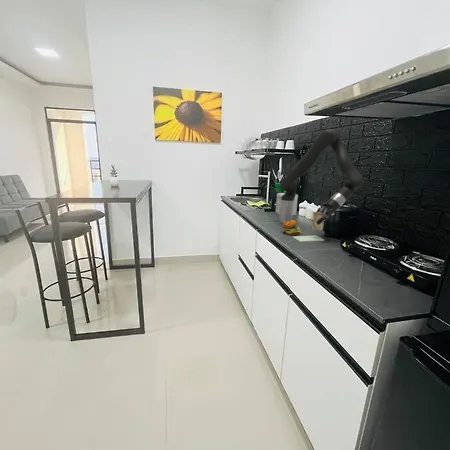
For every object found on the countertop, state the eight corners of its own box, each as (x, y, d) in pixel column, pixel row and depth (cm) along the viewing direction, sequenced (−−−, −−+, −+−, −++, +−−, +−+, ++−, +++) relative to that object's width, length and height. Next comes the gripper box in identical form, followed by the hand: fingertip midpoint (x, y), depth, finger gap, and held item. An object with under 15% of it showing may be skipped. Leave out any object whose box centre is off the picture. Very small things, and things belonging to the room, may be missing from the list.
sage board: (315, 236, 157) (316, 235, 157) (324, 240, 148) (324, 239, 148) (292, 237, 153) (292, 236, 153) (300, 242, 145) (300, 241, 145)
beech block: (311, 228, 152) (313, 212, 149) (318, 228, 153) (320, 212, 150) (315, 230, 148) (317, 213, 145) (322, 230, 149) (324, 213, 146)
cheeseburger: (301, 236, 155) (299, 221, 153) (284, 238, 158) (281, 223, 156) (300, 231, 165) (298, 217, 163) (284, 234, 168) (281, 219, 165)
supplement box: (288, 211, 229) (289, 192, 224) (296, 215, 217) (298, 194, 212) (275, 212, 225) (276, 193, 220) (282, 215, 213) (284, 195, 208)
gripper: (324, 196, 154) (305, 216, 154) (339, 199, 140) (318, 221, 141) (331, 204, 156) (311, 224, 157) (346, 208, 143) (325, 230, 143)
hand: (315, 222), depth 149 cm, fingers closed on beech block, 4 cm apart
